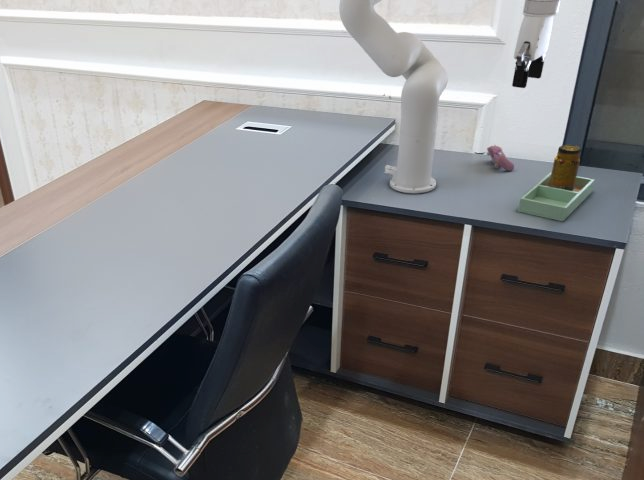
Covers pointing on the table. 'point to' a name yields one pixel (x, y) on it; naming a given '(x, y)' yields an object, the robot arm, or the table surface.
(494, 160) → the pink animal figurine
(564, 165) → the condiment
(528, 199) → the tray
